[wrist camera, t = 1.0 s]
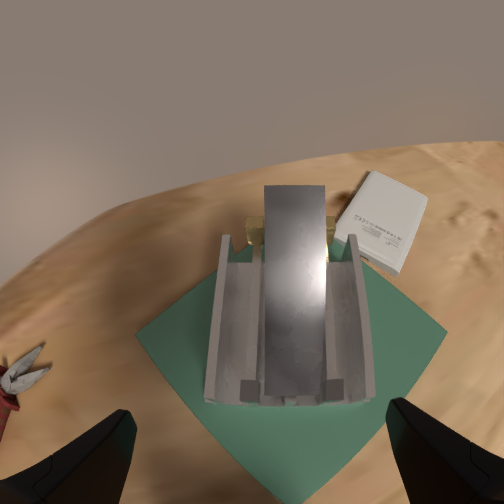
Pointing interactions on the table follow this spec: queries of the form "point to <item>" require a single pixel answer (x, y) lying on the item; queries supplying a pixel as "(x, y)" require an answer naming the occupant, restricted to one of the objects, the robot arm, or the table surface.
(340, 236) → the external hard drive
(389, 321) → the green square mat
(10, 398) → the pliers
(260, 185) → the table surface
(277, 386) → the dark metal plate
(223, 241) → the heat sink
